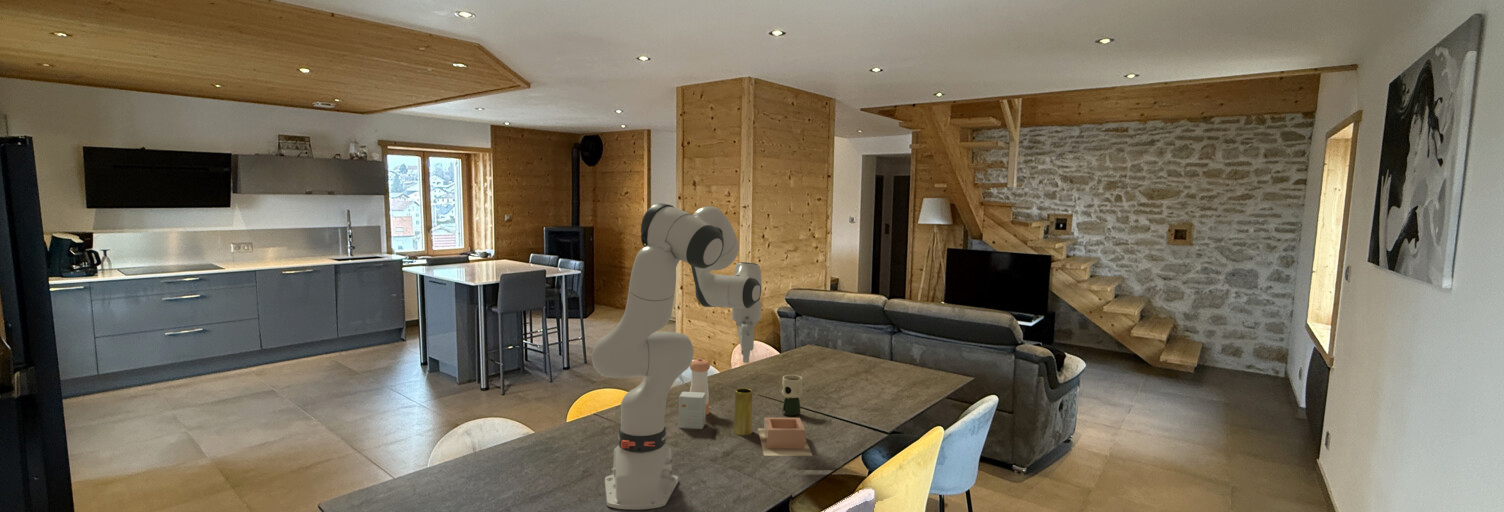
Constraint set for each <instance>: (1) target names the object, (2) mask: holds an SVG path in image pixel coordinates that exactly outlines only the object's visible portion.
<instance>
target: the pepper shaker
mask: <svg viewBox="0 0 1504 512" xmlns="http://www.w3.org/2000/svg"><path fill="white" fill-rule="evenodd" d="M710 368H711V364H710V363H709V361H707V360H705V359H703V358H702V357H698V358H697V359H695V360H694V359H693V360H692V362H691V364H690V366H689V369H690V370H691V383H690V388H689V392H701V393H706V416H708V415H709V414H710V401H709V400H710V399H709V398H710V397H709V396H710V392H709V391H710V390H709V385H708V375H709V374H708V373H709V372H708V371H709V370H710Z"/></svg>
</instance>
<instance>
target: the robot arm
mask: <svg viewBox="0 0 1504 512" xmlns="http://www.w3.org/2000/svg"><path fill="white" fill-rule="evenodd" d="M640 234H641V235H640V241H641V244H642V246H643V247H642V248H641V249H639V251H638V252H637V253H636V256H635V259H634V262H633V265H632V269H631V272H630V277H629V278H630V279H629V285H628V290H627V291H628V293H627V299H626V300H627V301H626V305H625V310H624V313H623V315H622V317H621V319H620V321H619V322H618V323H617V325H616V326H615V327H614V328H613V329H611V331H610V332H608V333H607V334H605V335H604V336H602V337H600V338H599V339H598V340H597V341H596V342H595V344H594V346H593V348H592V352H591V362H592V366H593V369H594V370H595V371H596V373H597V374H598V375H600V376H601V377H607V378H613V379H626V378H641V377H643V379H642V381H641V382H640V383H639V385H637V386H636V387H635V388H632V389H630V390H629V391H628V392H626V394H625V395H624V397H623V398H622V400H621V402H620V428H619V430H618V437H617V439H618V445H617V446H616V447H615V448H614V449H613V466H612V467H613V468H610V475H607V476H605V477H604V490H605V499H606V500H605V501H606V505H607V506H608V507H609V508H613V509H617V510H631V511H632V510H633V511H634V510H651V509H657V508H658V509H659V508H662V507H665V506H666V505H667V503H668V501H669V500H670V498H671V496H672V494H673V492H674V490H675V488H677V486H678V484H679V477H678V476H677V475H674V474H672V473H673V471H672V461H673V459H672V449H671V448H670V447H669V446H668V445H667V443H666V442H667V428H666V426H665V414H666V405H667V404H666V403H667V398H668V395H669V392H670V390H671V388H672V386H673V385H674V383H675V381H676V380H677V379H678V377H680V375H682V374H683V373H684V372H685V371H686V370H688V369H689V368H690V364H691V362H692V361H694V356H695V355H694V346H693V343H692V341H691V339H690V338H689V337H688V336H687V334H684V333H679V332H673V331H659V330H661V329H663V328H664V327H666V326H667V324H668V323H669V322H670V319H671V318H672V314H673V307H674V300H675V294H676V283H677V266H678V264H679V262H685V263H687V264H689V265H690V268H691V273H692V277H693V281H694V285H695V286H694V287H695V288H694V289H695V298H696V300H697V302H698V303H699V304H700V305H701V306H703V307H704V308H716V307H717V308H726V309H727V308H728V309H732V310H731V319H732V321H734V322H735V326H737V327H736V328H737V335H738V340H739V343H740V348H741V352H740V353H741V355H742V362H743V363H745V364H749V363H750V354H751V352H752V351H754V348H755V347H754V346H755V345H754V344H755V328H754V327H756V326H757V323H758V322H760V321H761V320H762V319H761V317H762V302H761V296H762V295H761V294H762V285H763V284H762V272H761V266H760V265H759V264H758V263H755V262H746V261H743V262H742V261H740V262H737V263H736V264H735V267H734V272H733V275H728V274H717V273H711V271H719V270H724V269H726V268H728V267H729V266H731V265H732V264H733V262H735V260H736V259H737V256H738V254H739V252H740V251H739V249H740V247H739V240H738V237H737V234H736V232H735V230H734V227H733V226H732V223H731V222H730V221H729V219H728V217H727V216H726V215H725V214H724V212H723V211H722V210H721V209H720V208H718V207H716V206H711V205H710V206H703V207H702V206H701V207H700V208H698V209H696V210H695V212H694V213H690V212H688V211H685V210H684V209H683V210H682V209H680V208H678V207H677V208H676V207H674V205H672V204H666V203H661V202H659V203H655V204H653V205H651V207H649V208H648V209H647V210H646V211H645V213H644V214H643V216H642V219H641V225H640Z"/></svg>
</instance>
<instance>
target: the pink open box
mask: <svg viewBox="0 0 1504 512" xmlns="http://www.w3.org/2000/svg"><path fill="white" fill-rule="evenodd" d="M801 419H802V418H800V417H764V424H763V426H764V428H763V429H764V437H765V441H766V445H767V448H804V447H805V439H806V429H805V426H804V425H803V422H802V420H801Z"/></svg>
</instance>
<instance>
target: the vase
mask: <svg viewBox="0 0 1504 512" xmlns="http://www.w3.org/2000/svg"><path fill="white" fill-rule="evenodd" d="M734 396H735V397H734V400H735V401H734V415H733V417H734V419H733V434H735V435H738V436H749V435H751V434H752V433H753V423H752V421H753V420H752V418H753V417H752V414H753V413H752V412H753V390H752V389H751V388H744V387H741V388H737V389H735V395H734Z"/></svg>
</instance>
